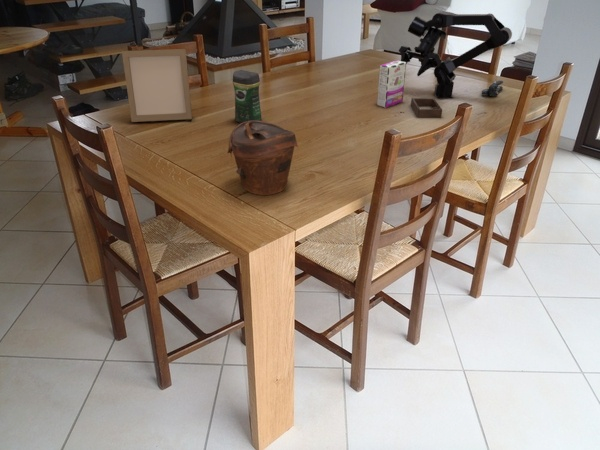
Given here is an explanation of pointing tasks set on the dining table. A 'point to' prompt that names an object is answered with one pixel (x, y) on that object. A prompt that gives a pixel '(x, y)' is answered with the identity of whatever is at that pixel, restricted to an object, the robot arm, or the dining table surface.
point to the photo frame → (157, 84)
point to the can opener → (493, 89)
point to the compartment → (426, 113)
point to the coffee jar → (246, 96)
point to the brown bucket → (262, 155)
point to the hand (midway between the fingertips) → (408, 73)
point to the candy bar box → (391, 83)
